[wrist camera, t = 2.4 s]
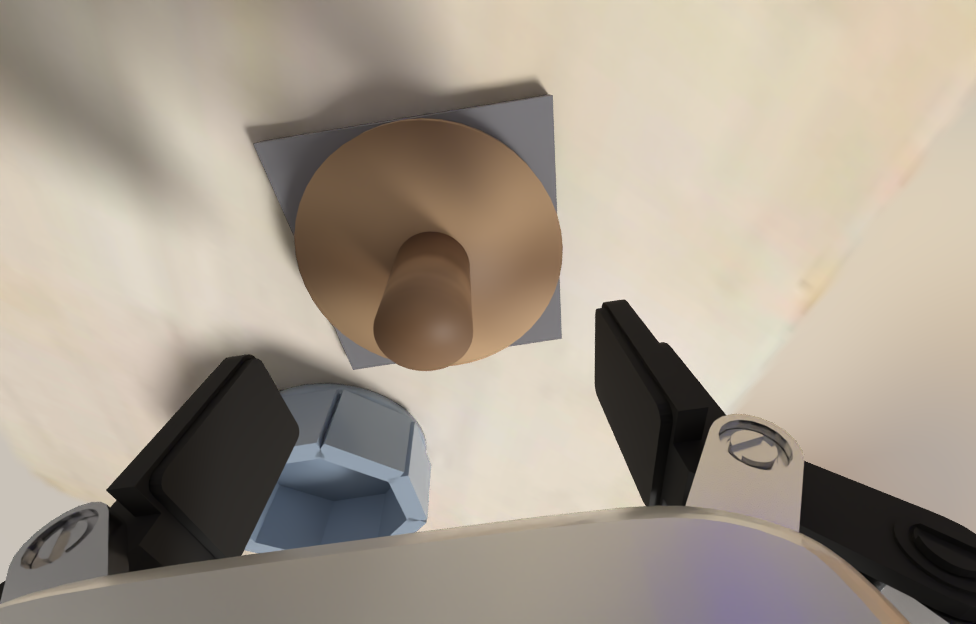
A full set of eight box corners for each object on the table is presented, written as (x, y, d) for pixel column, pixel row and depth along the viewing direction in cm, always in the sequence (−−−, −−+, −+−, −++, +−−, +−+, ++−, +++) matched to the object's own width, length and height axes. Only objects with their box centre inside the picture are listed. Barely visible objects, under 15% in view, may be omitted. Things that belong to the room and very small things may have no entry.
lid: (253, 143, 12) (140, 180, 8) (552, 95, 12) (605, 106, 8) (352, 369, 18) (317, 465, 13) (561, 338, 18) (595, 425, 13)
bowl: (209, 398, 19) (155, 467, 16) (401, 368, 19) (389, 431, 16) (292, 505, 24) (266, 574, 21) (442, 482, 24) (440, 548, 21)
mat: (261, 141, 13) (252, 143, 12) (548, 94, 13) (552, 95, 12) (355, 361, 18) (353, 369, 18) (558, 331, 18) (561, 338, 18)
